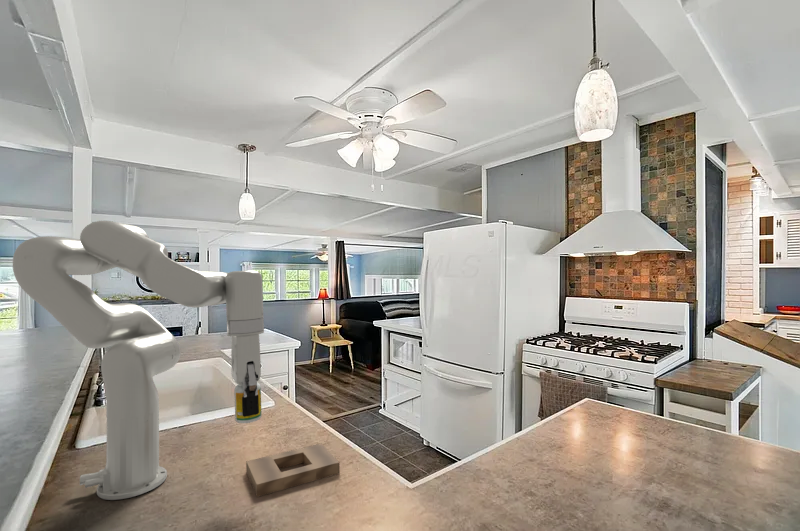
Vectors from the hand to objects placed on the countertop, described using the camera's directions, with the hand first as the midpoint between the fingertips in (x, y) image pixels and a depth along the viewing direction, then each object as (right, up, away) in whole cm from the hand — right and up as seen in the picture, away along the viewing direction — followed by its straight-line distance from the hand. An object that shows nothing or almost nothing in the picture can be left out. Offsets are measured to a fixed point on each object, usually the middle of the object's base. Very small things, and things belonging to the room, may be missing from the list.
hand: (248, 410), depth 86 cm
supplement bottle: (0, -2, 0) cm, 2 cm away
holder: (+8, -16, +5) cm, 19 cm away
